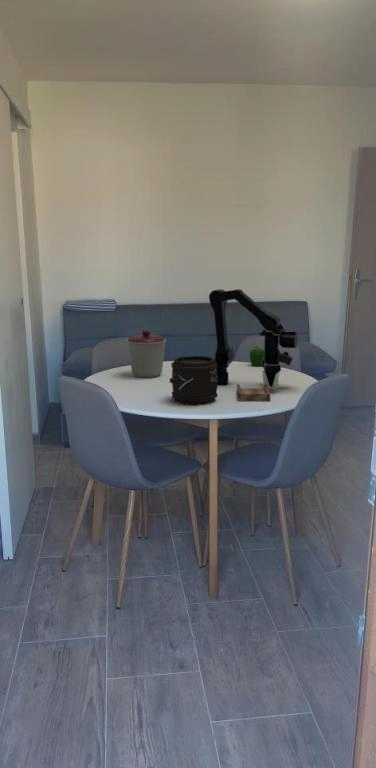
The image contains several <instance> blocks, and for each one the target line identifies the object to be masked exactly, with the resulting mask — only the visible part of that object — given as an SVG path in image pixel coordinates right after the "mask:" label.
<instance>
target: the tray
mask: <svg viewBox="0 0 376 768" xmlns="http://www.w3.org/2000/svg"><path fill="white" fill-rule="evenodd" d="M236 393H237V401H238V402H271V392H270V389H268V386H267V385H264V386H263V388H261V387H260V388H257V387H256V388H253V387H252V388H250V387H249V388H243V387H241V384H236Z"/></svg>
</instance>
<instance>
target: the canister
mask: <svg viewBox="0 0 376 768" xmlns="http://www.w3.org/2000/svg"><path fill="white" fill-rule="evenodd" d="M141 333H142V335H141V334H140V335H139V334H138V335H134V336H133V335H132V336H130V337H128V338H127V339H126V340H125V343H127V348H128V349H127V350H128V355H129V362H130V368H131V372H132V375H134V376H135V377H137V376H138V378H143V377H149V378H155V377H158V376H160V375H161V374H162V373H163V367H164V366H163V365H164V357H165V345H166V341H167V339H166V338H165V337H163V336H161V335H158V334H157V335H156V334H155V335H154V334H151V331H150V330H149V329H143V330H142V331H141Z"/></svg>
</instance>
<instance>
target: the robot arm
mask: <svg viewBox="0 0 376 768" xmlns="http://www.w3.org/2000/svg"><path fill="white" fill-rule="evenodd" d="M208 299H209V303H210V306H211V309H212V311H213V313H214V314H213V315H214V325H215V336H216V350H215V355H214V360H215V362H216V363H217V366H218V367H217V368H216V369H217V386H221V385H222V386H224V385H225V386H226V385H228V383H229V372H228V368H229V365H230V364H231V363H233V361H234V358H235V355H234V348H233V347H230V345H229V341H228V330H227V328H228V327H227V320H226V319H227V318H226V308H227V305H228V301H232V300H234V301H236V302H237V303H239V304H240V305H241V306H243V307H244V309H246V310H248V312H250V314H251V315H253V316H254V317H256V319H257V321H259V323H260V325H261V326H262V327H263V328H264V329H263V330H262V332H261V333H259V336H260V337H261V336H262V337H264V344H263V345H264V346H263V347H264V348H263V350H264V357H263V358H262V364H264V363H265V364H264V365H263V366H262V368H263V371H265V374H266V376H267V379H268V382H269V385H270V386H273V382H274V379H275V375H276V374H277V373H278V372H279V373H280V372H282V369H281V368H282V366H281V365H280V363H283V364H285V365H287V366H291V363H292V361H293V357H292V356H291V355H289V352H288V351H283V352H280V349H279V346H281V348H283V349H284V348H286V349H297V348H298V344H299V343H298V342H299V338H298V334H297V333H298V332H297V330H292V331H289V330H287V331H286V329H285V328H284V327H283V325H282V323H281V319H280V318H279V316H277V315H275V314H274V313H273V312H270V311H268V310H266V309H264V308H263V307H262V306H261V305H259V304H258V303H257V302H255V300H253V299H252V298H251V297H249V296H248V295H247V294H246V293H245V292H244V291H243V290H242V289H240V288H239V289H233V290H225V289H222V288H221V289H219V288H218V289H215V290H212V291H211V292H210V293H209V295H208Z"/></svg>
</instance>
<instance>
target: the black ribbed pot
mask: <svg viewBox="0 0 376 768" xmlns="http://www.w3.org/2000/svg"><path fill="white" fill-rule="evenodd" d="M170 365H171V368H172V371H171V377H170V378H169V384H171V385H172V386H171V387H172V392H171V395H172V399H174V401H175V403H177V402H179V403H178V404H181V403H182V404H181V405H186V404H188V405H189V406H198V404H201V405H207V404H206V403H209V404H211V403H214V402H215V401H216V399H217V397H218V392H217V390H218V385H217V369H216V368H217V367H218V366H217V363H216V362H215V357H211V356H205V355H185V356H179V357H175V358H174V359H173V362H171V364H170ZM210 402H211V403H210Z"/></svg>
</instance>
